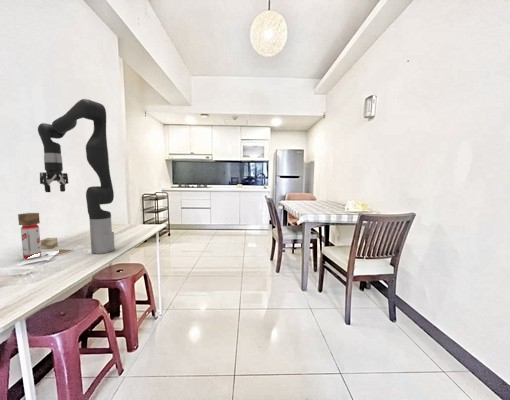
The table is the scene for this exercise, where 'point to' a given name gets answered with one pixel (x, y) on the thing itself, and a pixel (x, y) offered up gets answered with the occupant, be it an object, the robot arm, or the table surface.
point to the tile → (63, 251)
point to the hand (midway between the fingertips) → (55, 191)
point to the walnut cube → (28, 218)
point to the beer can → (30, 240)
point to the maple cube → (48, 243)
